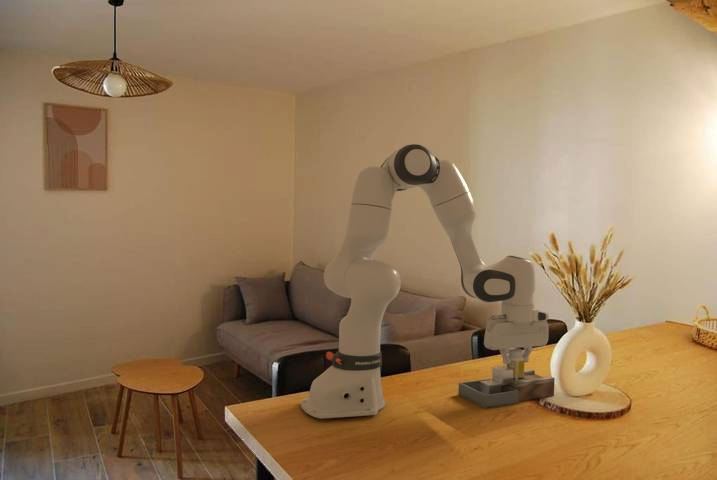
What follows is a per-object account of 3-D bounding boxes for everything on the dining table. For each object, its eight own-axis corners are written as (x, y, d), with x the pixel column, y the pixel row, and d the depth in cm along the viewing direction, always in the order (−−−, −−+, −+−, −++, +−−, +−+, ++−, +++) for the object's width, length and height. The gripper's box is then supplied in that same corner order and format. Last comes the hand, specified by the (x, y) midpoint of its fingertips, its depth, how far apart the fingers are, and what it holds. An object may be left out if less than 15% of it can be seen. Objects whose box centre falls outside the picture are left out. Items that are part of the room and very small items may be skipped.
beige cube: (500, 398, 147) (488, 400, 146) (491, 394, 151) (479, 395, 149) (501, 383, 147) (489, 385, 146) (491, 379, 151) (480, 381, 149)
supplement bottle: (522, 377, 154) (523, 348, 153) (525, 382, 149) (526, 352, 149) (505, 376, 155) (506, 347, 154) (507, 381, 150) (508, 351, 149)
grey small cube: (501, 385, 147) (501, 371, 147) (492, 381, 151) (492, 367, 151) (513, 383, 149) (513, 369, 149) (503, 379, 153) (503, 365, 153)
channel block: (514, 401, 146) (515, 383, 146) (493, 391, 154) (493, 374, 154) (554, 395, 152) (554, 377, 152) (531, 386, 160) (531, 369, 160)
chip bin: (485, 408, 140) (485, 395, 140) (458, 394, 151) (458, 382, 151) (518, 403, 145) (518, 390, 145) (490, 390, 156) (490, 378, 156)
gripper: (494, 317, 144) (493, 369, 144) (553, 314, 152) (551, 362, 153) (480, 313, 150) (478, 363, 150) (537, 310, 158) (535, 357, 159)
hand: (515, 363), depth 152 cm, fingers closed on supplement bottle, 5 cm apart
